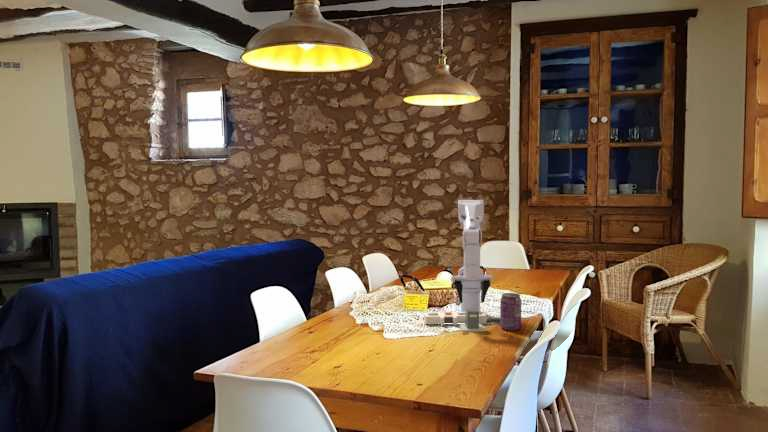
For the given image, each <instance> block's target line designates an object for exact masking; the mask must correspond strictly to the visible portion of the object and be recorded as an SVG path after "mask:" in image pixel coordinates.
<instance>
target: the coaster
mask: <svg viewBox="0 0 768 432" xmlns="http://www.w3.org/2000/svg"><path fill="white" fill-rule="evenodd" d="M459 326H460V327H459ZM458 327H459V329H460V331H461V332H462V333H464V332H465V333H467V332H486V328H485V327H484V326H483V324H479V328H476V329H467V327H466V326H465V324H458Z"/></svg>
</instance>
